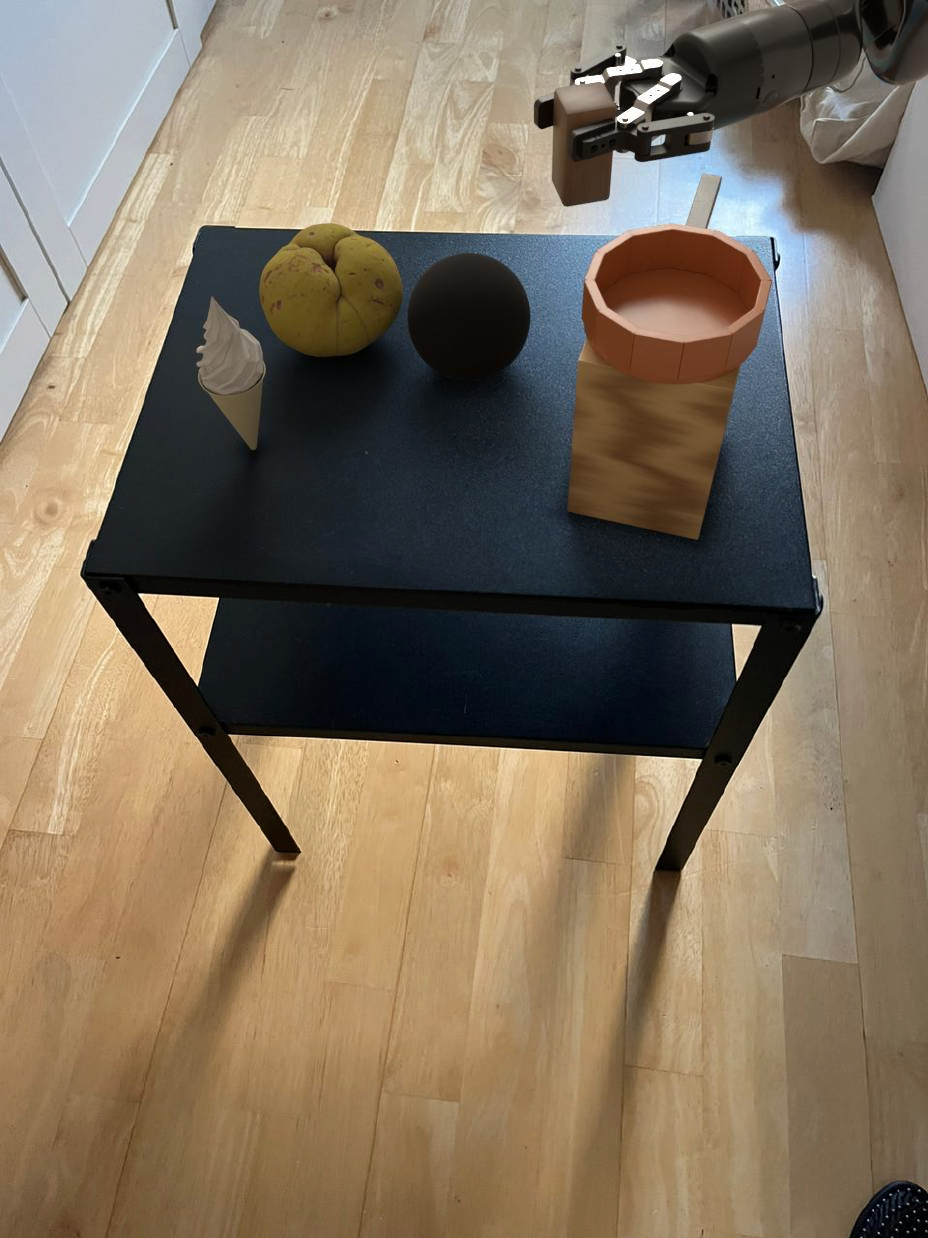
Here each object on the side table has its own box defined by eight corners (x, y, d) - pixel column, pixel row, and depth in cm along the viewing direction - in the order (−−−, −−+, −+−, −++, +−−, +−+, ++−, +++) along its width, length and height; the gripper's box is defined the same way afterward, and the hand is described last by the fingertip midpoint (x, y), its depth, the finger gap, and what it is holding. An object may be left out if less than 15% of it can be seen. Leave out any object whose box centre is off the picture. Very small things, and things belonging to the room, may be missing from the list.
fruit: (272, 305, 94) (249, 207, 86) (401, 291, 94) (391, 192, 86) (274, 391, 88) (249, 293, 80) (412, 375, 88) (402, 277, 80)
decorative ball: (465, 310, 93) (461, 211, 84) (553, 359, 89) (557, 260, 80) (388, 370, 89) (375, 272, 80) (476, 424, 85) (472, 326, 76)
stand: (721, 445, 82) (758, 289, 70) (697, 540, 77) (733, 389, 65) (598, 420, 84) (613, 265, 72) (567, 511, 79) (577, 360, 67)
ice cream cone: (281, 470, 83) (241, 319, 70) (218, 471, 83) (167, 321, 70) (288, 425, 85) (251, 272, 73) (227, 425, 86) (180, 273, 73)
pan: (743, 399, 64) (754, 356, 61) (564, 365, 67) (566, 322, 64) (785, 223, 74) (797, 178, 71) (628, 199, 76) (633, 154, 73)
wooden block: (550, 181, 86) (552, 86, 79) (597, 173, 86) (603, 77, 80) (563, 209, 84) (566, 113, 77) (610, 201, 84) (618, 104, 78)
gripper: (693, -17, 84) (507, 41, 80) (804, 61, 77) (605, 128, 73) (681, 76, 90) (508, 133, 86) (783, 156, 83) (598, 223, 79)
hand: (554, 131), depth 80 cm, fingers closed on wooden block, 4 cm apart
